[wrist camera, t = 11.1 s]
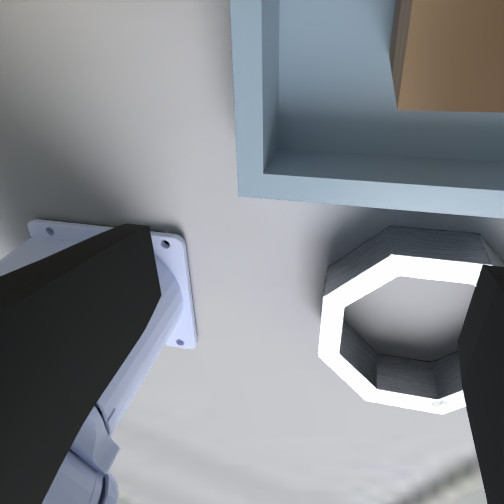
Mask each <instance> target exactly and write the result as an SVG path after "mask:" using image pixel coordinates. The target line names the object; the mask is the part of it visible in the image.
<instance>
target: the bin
mask: <svg viewBox="0 0 504 504" xmlns="http://www.w3.org/2000/svg"><path fill="white" fill-rule="evenodd" d="M395 3H396V0H230V15H231V38H232V61H233V84H234V107H235V130H236V153H237V176H238V196H240V197H252V198H264V199H276V200H288V201H300V202H312V203H324V204H336V205H348V206H360V207H372V208H384V209H396V210H408V211H419V212H431V213H443V214H455V215H467V216H479V217H491V218H503V219H504V113H495V112H453V111H411V110H397V105H396V98H395V92H394V85H393V79H392V72H391V66H390V59H389V52H390V44H391V36H392V27H393V19H394V11H395Z"/></svg>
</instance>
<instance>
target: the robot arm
mask: <svg viewBox="0 0 504 504" xmlns="http://www.w3.org/2000/svg"><path fill="white" fill-rule="evenodd" d="M27 227H28V231H29V234H30V237H31V238H30V239H28V240H27V241H26V242H24V243H23V244H22V245H20V246H19V247H18V248H16V249H15V250H13V251H12V252H11V253H9V254H8V255H7V256H5V257H4V258H3V259H1V260H0V504H117V499H118V485H117V482H116V479H115V478H114V477H113V476H112V475H111V474H110V473H109V472H108V470H109V468H110V467H111V465H112V463H113V461H114V459H115V457H116V456H117V454H118V452H119V450H120V447H119V446H118V445H117V444H116V443H115V442H114V441H113V440H112V439H111V438H110V437H111V435H112V434H113V432H114V430H115V429H116V427H117V425H118V424H119V422H120V420H121V418H122V417H123V415H124V413H125V412H126V410H127V408H128V407H129V405H130V403H131V401H132V400H133V398H134V396H135V395H136V393H137V391H138V390H139V388H140V386H141V384H142V383H143V381H144V379H145V378H146V376H147V374H148V373H149V371H150V369H151V367H152V366H153V364H154V362H155V361H156V359H157V357H158V356H159V354H160V352H161V350H162V349H163V347H164V345H167V346H173V347H179V348H185V349H193V348H195V346H196V344H197V334H196V325H195V317H194V309H193V301H192V293H191V285H190V277H189V269H188V260H187V252H186V244H185V241H184V239H183V238H182V237H181V236H180V235H177V234H171V233H162V232H152V231H150V227H149V226H142V225H133V224H124V225H121V226H117V227H106V226H96V225H87V224H77V223H68V222H59V221H49V220H40V219H33V220H32V221H30V222H29V223H28V225H27ZM51 229H53V231H52V230H51ZM164 240H166V241H168V242H169V244H170V245H167V244H166V243H165V242H164ZM180 339H181V340H182V341H181V340H180ZM458 346H459V361H460V373H461V384H462V389H463V394H464V399H465V404H466V408H467V413H468V418H469V422H470V427H471V431H472V435H473V440H474V444H475V449H476V453H477V458H478V462H479V467H480V471H481V476H482V480H483V484H484V489H485V493H486V498H487V504H504V267H501V266H492V265H484V264H483V265H482V268H481V271H480V274H479V277H478V281H477V284H476V287H475V290H474V293H473V296H472V299H471V302H470V305H469V309H468V312H467V315H466V318H465V321H464V324H463V327H462V330H461V333H460V337H459V340H458Z"/></svg>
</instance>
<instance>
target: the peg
mask: <svg viewBox="0 0 504 504" xmlns="http://www.w3.org/2000/svg"><path fill="white" fill-rule="evenodd" d="M389 59H390V66H391V72H392V79H393V85H394V92H395V98H396V105H397V110H411V111H453V112H495V113H504V0H396V3H395V11H394V19H393V27H392V36H391V44H390V52H389Z"/></svg>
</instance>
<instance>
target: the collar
mask: <svg viewBox="0 0 504 504" xmlns="http://www.w3.org/2000/svg"><path fill="white" fill-rule="evenodd" d="M483 264H484V265H492V266H501V267H504V263H503V261H502V260H501V259H500V258H499V257H498V256H497V254H496V253H495V252H494V251H493V250H492V249H491V247H490V246H489V245H488V244H487V243H486V242H485V240H484V239H483V238H482V237H481V235H480V234H473V233H462V232H451V231H440V230H429V229H419V228H408V227H397V226H390V227H388V228H387V229H385V230H384V231H382V232H381V233H379V234H378V235H376V236H375V237H373V238H372V239H370V240H368V241H367V242H365V243H364V244H362V245H361V246H359V247H358V248H356V249H355V250H353V251H352V252H350V253H349V254H347V255H346V256H344V257H343V258H341V259H340V260H338V261H337V262H335V263H334V264H332V265H331V266H329V267H328V268H327V274H326V280H325V285H324V291H323V297H322V298H323V303H322V315H321V327H320V339H319V350H318V357H320V358H321V359H322V360H323V361H324V362H325V363H326V364H327V365H328V366H329V367H330V368H331V369H332V370H334V371H335V372H336V373H337V374H338V375H339V376H340V377H341V378H342V379H343V380H344V381H345V382H346V383H347V384H349V385H350V386H351V387H352V388H353V389H354V390H355V391H356V392H357V393H358V394H359V395H360V396H361V397H362V398H364V399H365V401H370V402H375V403H381V404H387V405H392V406H398V407H403V408H409V409H414V410H420V411H426V412H431V413H437V414H442V415H443V414H445V413H448V412H451V411H454V410H457V409H459V408H462V407H465V406H466V404H465V399H464V394H463V389H462V384H461V373H460V361H459V351H458V352H456V353H453V354H451V355H449V356H446V357H444V358H442V359H439V360H437V361H435V362H433V363H432V362H426V361H419V360H413V359H406V358H400V357H394V356H387V355H381V354H376V353H375V352H374V351H373V350H372V349H371V348H370V347H369V346H368V345H367V344H366V343H365V342H364V341H363V340H362V339H361V338H360V337H359V336H358V335H357V334H356V333H355V332H354V331H353V330H352V329H351V328H350V327H349V326H348V325H347V324H346V323H345V322H344V321H343V316H344V307H346V306H348V305H349V304H351V303H353V302H354V301H356V300H358V299H360V298H361V297H363V296H365V295H367V294H368V293H370V292H372V291H373V290H375V289H377V288H379V287H380V286H382V285H384V284H385V283H387V282H389V281H391V280H392V279H394V278H396V277H398V276H405V277H413V278H422V279H431V280H439V281H448V282H457V283H465V284H474V285H475V287H476V284H477V281H478V277H479V274H480V271H481V268H482V265H483Z"/></svg>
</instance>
